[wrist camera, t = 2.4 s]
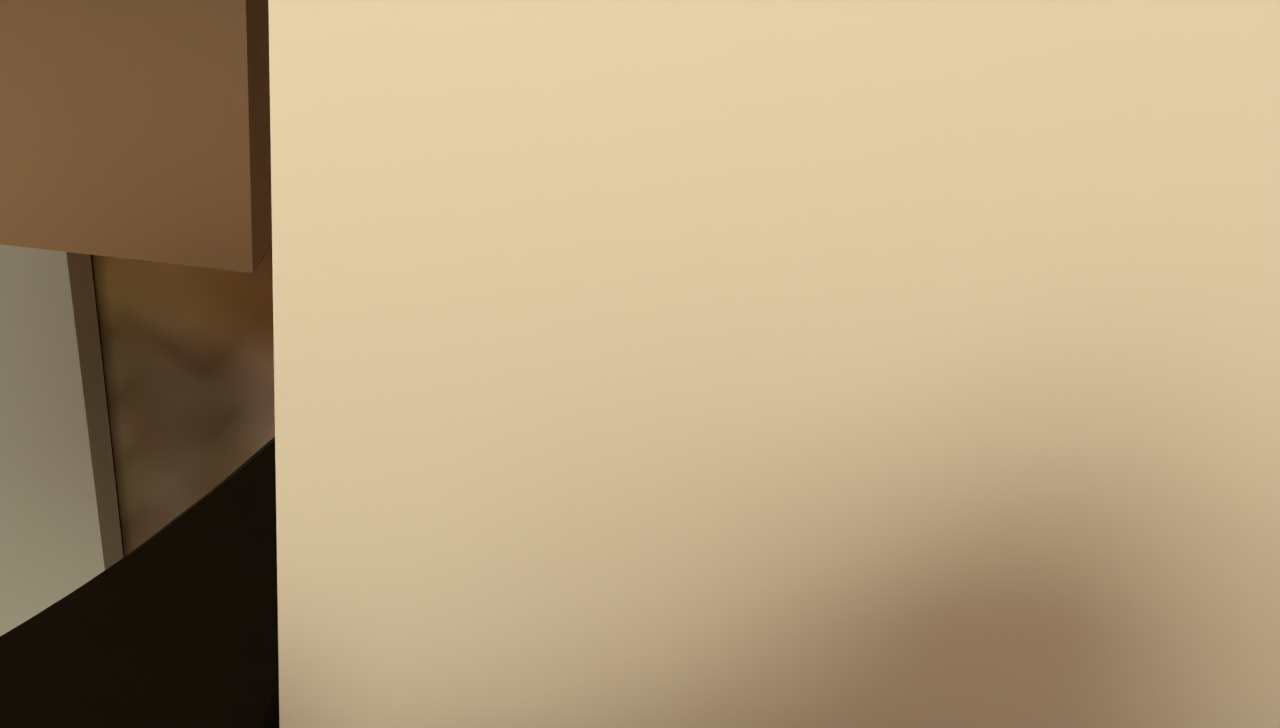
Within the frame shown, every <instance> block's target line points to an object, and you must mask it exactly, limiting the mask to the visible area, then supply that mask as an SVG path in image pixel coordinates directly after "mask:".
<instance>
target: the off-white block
mask: <svg viewBox="0 0 1280 728" xmlns="http://www.w3.org/2000/svg"><path fill="white" fill-rule="evenodd" d="M268 9H269V74H270V139H271V205H272V270H273V335H274V400H275V465H276V531H277V596H278V661H279V726H280V728H1280V0H268Z"/></svg>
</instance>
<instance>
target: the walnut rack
mask: <svg viewBox="0 0 1280 728" xmlns="http://www.w3.org/2000/svg"><path fill="white" fill-rule="evenodd" d="M0 244H2V245H11V246H19V247H28V248H37V249H45V250H54V251H63V252H71V253H80V254H89V255H97V256H106V257H115V258H123V259H132V260H141V261H149V262H158V263H167V264H175V265H184V266H192V267H201V268H210V269H218V270H227V271H236V272H244V273H253V272H254V271H255V269H256V268H257V266H258V264H259V263H260V261H261V260H262V258H263V257H264V255H265V254H266V252H267V250H268V249H269V247H270V246H271V244H272V205H271V139H270V74H269V9H268V0H0Z"/></svg>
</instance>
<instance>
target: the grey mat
mask: <svg viewBox="0 0 1280 728" xmlns="http://www.w3.org/2000/svg"><path fill="white" fill-rule="evenodd" d="M122 558H123V548H122V539H121V530H120V521H119V512H118V503H117V494H116V484H115V475H114V466H113V457H112V448H111V439H110V430H109V420H108V411H107V402H106V393H105V384H104V375H103V366H102V356H101V347H100V338H99V329H98V320H97V311H96V301H95V292H94V283H93V274H92V265H91V256H90V255H89V254H80V253H71V252H63V251H54V250H45V249H37V248H28V247H19V246H11V245H2V244H0V636H2V635H3V634H5V633H7V632H9V631H10V630H12V629H14V628H15V627H17V626H19V625H20V624H22V623H24V622H25V621H27V620H29V619H30V618H32V617H33V616H35V615H37V614H38V613H40V612H41V611H43V610H45V609H46V608H48V607H49V606H51V605H53V604H54V603H56V602H57V601H59V600H61V599H62V598H64V597H65V596H67V595H69V594H70V593H72V592H73V591H75V590H76V589H78V588H79V587H81V586H82V585H84V584H85V583H87V582H88V581H90V580H91V579H93V578H94V577H96V576H97V575H99V574H100V573H102V572H103V571H105V570H106V569H107V568H109V567H110V566H112V565H113V564H115V563H116V562H117V561H119V560H120V559H122Z"/></svg>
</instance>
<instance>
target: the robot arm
mask: <svg viewBox="0 0 1280 728" xmlns="http://www.w3.org/2000/svg"><path fill="white" fill-rule="evenodd" d="M0 728H280V726H279V661H278V596H277V531H276V465H275V437H274V438H273V439H272V440H270V441H269V442H268V443H267V444H266V445H265V446H263V447H262V448H261V449H260V450H259V451H258V452H256V453H255V454H254V455H253V456H252V457H251V458H250V459H248V460H247V461H246V462H245V463H244V464H243V465H241V466H240V467H239V468H238V469H237V470H236V471H234V472H233V473H232V474H231V475H230V476H229V477H228V478H226V479H225V480H224V481H223V482H222V483H220V484H219V485H218V486H217V487H215V488H214V489H213V490H212V491H211V492H209V493H208V494H207V495H205V496H204V497H203V498H202V499H200V500H199V501H198V502H196V503H195V504H194V505H192V506H191V507H190V508H188V509H187V510H186V511H185V512H183V513H182V514H181V515H179V516H178V517H177V518H175V519H174V520H173V521H171V522H170V523H169V524H168V525H166V526H165V527H164V528H162V529H161V530H160V531H158V532H157V533H156V534H154V535H153V536H152V537H151V538H149V539H148V540H147V541H145V542H144V543H143V544H141V545H140V546H139V547H137V548H136V549H135V550H133V551H132V552H130V553H129V554H128V555H126V556H125V557H123V558H122V559H120V560H119V561H117V562H116V563H115V564H113V565H112V566H110V567H109V568H107V569H106V570H105V571H103V572H102V573H100V574H99V575H97V576H96V577H94V578H93V579H91V580H90V581H88V582H87V583H85V584H84V585H82V586H81V587H79V588H78V589H76V590H75V591H73V592H72V593H70V594H69V595H67V596H65V597H64V598H62V599H61V600H59V601H57V602H56V603H54V604H53V605H51V606H49V607H48V608H46V609H45V610H43V611H41V612H40V613H38V614H37V615H35V616H33V617H32V618H30V619H29V620H27V621H25V622H24V623H22V624H20V625H19V626H17V627H15V628H14V629H12V630H10V631H9V632H7V633H5V634H3V635H2V636H0Z"/></svg>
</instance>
